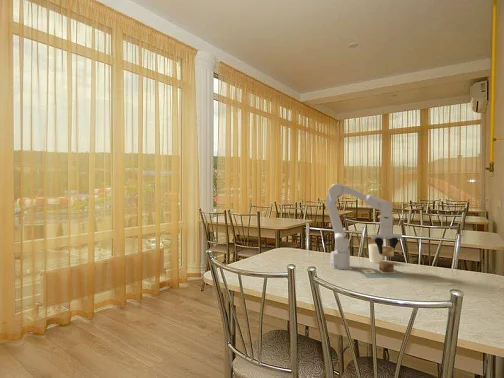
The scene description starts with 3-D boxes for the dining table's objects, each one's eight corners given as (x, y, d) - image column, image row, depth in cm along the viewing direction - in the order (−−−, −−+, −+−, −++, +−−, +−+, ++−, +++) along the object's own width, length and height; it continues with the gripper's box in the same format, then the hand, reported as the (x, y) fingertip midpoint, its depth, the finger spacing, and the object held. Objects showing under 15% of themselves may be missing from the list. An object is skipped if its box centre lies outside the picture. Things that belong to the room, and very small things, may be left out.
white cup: (381, 261, 183) (381, 243, 183) (385, 264, 175) (385, 246, 175) (366, 261, 184) (366, 243, 184) (370, 264, 176) (370, 246, 176)
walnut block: (383, 272, 158) (383, 264, 158) (379, 269, 163) (379, 261, 163) (393, 272, 158) (393, 264, 158) (388, 269, 163) (388, 261, 163)
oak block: (383, 256, 158) (383, 248, 158) (379, 254, 163) (379, 246, 163) (393, 256, 158) (393, 248, 158) (389, 254, 163) (389, 246, 163)
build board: (367, 279, 149) (367, 278, 149) (355, 270, 164) (355, 269, 164) (410, 278, 149) (410, 277, 149) (394, 270, 164) (394, 268, 164)
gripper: (375, 227, 156) (375, 255, 156) (404, 226, 157) (404, 254, 157) (369, 225, 163) (369, 252, 163) (397, 224, 164) (397, 251, 164)
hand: (386, 253), depth 160 cm, fingers closed on oak block, 5 cm apart
